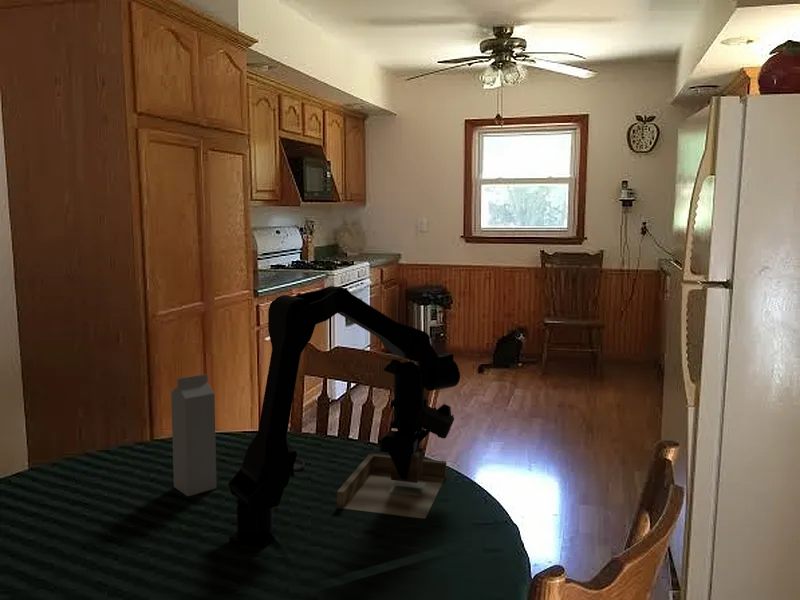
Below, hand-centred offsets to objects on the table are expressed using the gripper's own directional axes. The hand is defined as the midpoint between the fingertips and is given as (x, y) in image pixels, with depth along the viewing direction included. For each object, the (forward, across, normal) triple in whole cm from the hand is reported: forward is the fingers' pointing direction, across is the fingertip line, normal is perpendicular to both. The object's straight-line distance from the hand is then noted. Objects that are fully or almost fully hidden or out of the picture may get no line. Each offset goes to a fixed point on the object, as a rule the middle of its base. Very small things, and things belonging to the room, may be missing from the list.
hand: (407, 473), depth 130 cm
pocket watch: (+4, +6, +28) cm, 29 cm away
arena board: (+4, -2, +2) cm, 5 cm away
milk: (+4, -9, +40) cm, 41 cm away
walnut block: (0, 0, 0) cm, 1 cm away
